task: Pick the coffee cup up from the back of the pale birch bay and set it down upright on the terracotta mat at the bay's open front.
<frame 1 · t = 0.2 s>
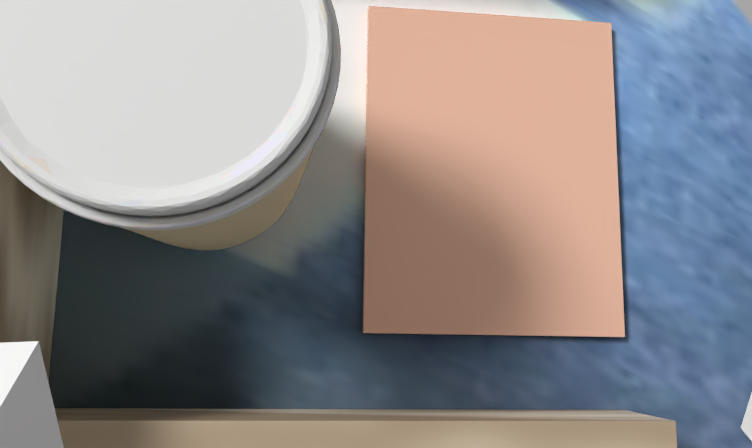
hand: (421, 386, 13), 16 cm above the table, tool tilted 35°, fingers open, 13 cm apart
coffee cup: (209, 159, 29), resting in bay
front mat: (492, 170, 30), on the table
bay: (365, 165, 29), on the table
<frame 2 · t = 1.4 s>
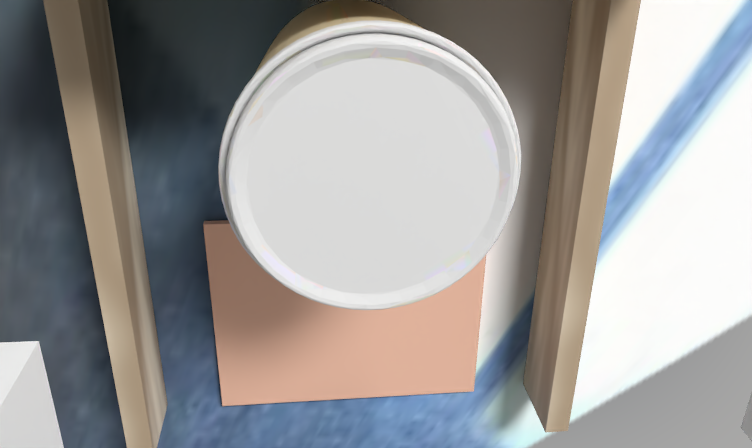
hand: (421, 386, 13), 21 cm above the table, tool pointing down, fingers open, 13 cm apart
coffee cup: (347, 84, 32), resting in bay
front mat: (349, 310, 37), on the table
bay: (348, 216, 34), on the table
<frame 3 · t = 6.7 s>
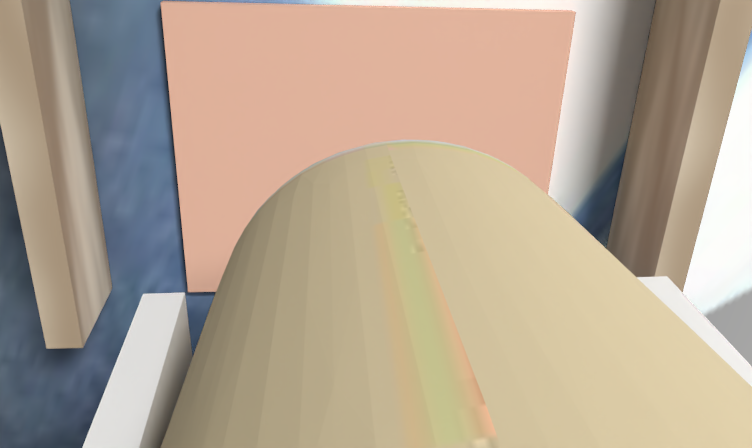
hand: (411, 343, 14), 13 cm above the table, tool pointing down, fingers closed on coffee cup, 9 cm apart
coffee cup: (401, 300, 15), point 12 cm above the table, touching gripper
front mat: (368, 157, 26), on the table
bay: (373, 5, 24), on the table
when the fingers open (3 cm above the table, at t = 9.6 s): coffee cup drops 1 cm, resting on front mat.
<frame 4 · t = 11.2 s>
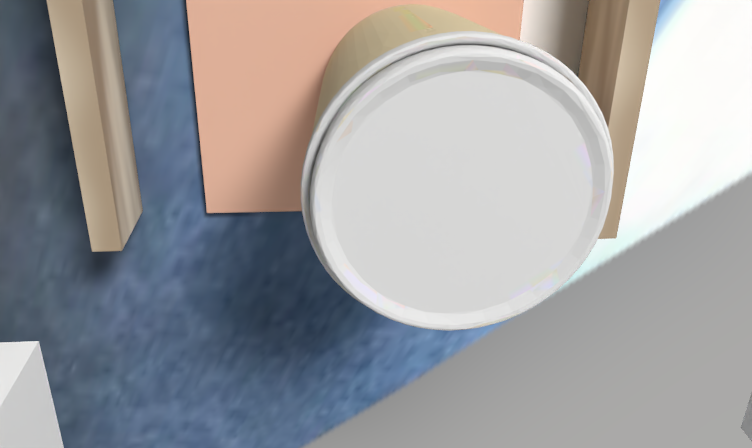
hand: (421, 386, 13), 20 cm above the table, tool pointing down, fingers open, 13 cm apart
coffee cup: (408, 92, 31), resting on front mat
front mat: (357, 93, 31), on the table
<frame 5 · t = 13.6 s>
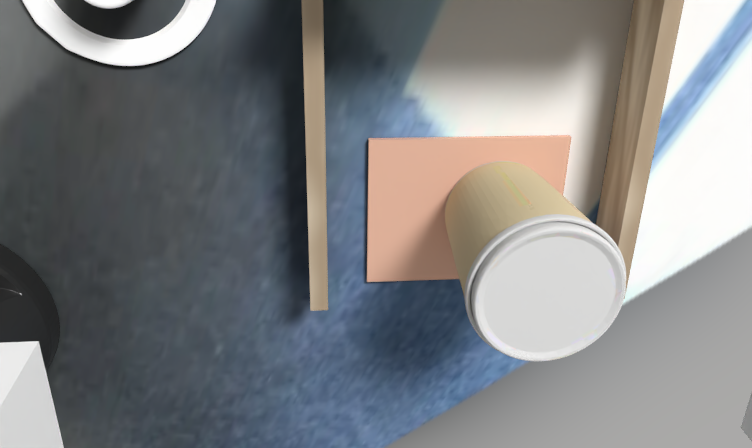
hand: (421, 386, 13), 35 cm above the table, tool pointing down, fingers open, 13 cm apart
coffee cup: (496, 209, 50), resting on front mat
front mat: (464, 209, 50), on the table
bay: (470, 136, 48), on the table
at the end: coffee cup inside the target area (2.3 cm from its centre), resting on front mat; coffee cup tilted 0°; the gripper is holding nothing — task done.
